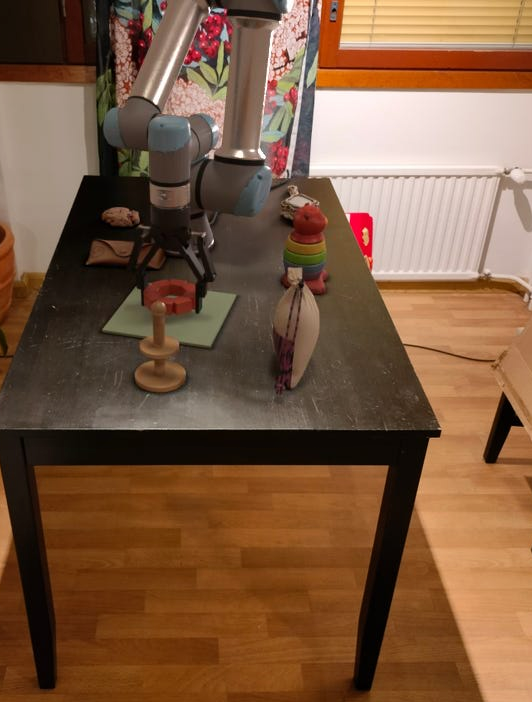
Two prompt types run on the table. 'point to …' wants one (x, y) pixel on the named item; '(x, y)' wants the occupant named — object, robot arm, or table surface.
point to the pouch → (295, 330)
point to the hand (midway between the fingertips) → (171, 306)
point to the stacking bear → (307, 248)
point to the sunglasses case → (121, 254)
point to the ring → (171, 288)
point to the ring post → (159, 357)
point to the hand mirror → (295, 202)
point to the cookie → (121, 217)
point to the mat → (173, 319)
